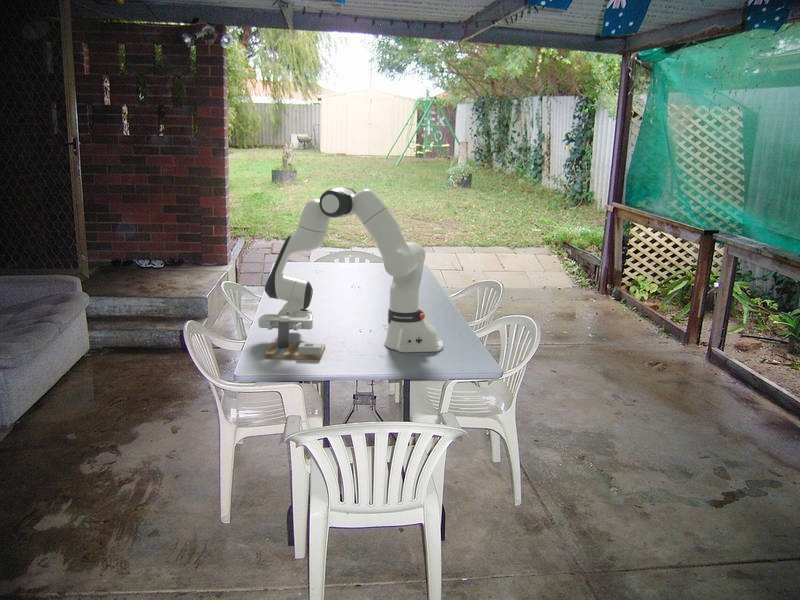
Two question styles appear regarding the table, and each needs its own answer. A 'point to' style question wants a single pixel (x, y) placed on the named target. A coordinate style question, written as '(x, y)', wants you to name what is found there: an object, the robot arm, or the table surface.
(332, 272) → the table surface
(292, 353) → the board
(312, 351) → the block
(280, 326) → the peg
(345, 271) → the table surface
